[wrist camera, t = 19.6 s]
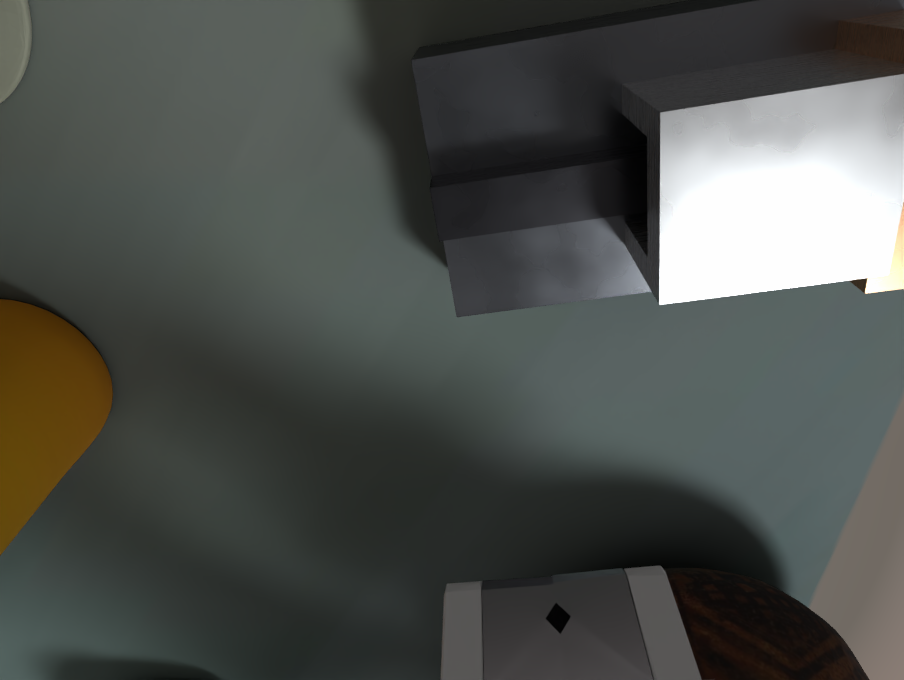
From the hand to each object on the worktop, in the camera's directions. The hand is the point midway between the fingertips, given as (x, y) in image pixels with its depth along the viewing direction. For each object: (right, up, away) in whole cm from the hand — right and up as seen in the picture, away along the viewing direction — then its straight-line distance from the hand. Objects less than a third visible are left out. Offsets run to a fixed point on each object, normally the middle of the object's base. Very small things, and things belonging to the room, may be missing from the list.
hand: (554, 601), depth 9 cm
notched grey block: (+8, +10, +14) cm, 19 cm away
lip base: (+6, +12, +18) cm, 22 cm away
